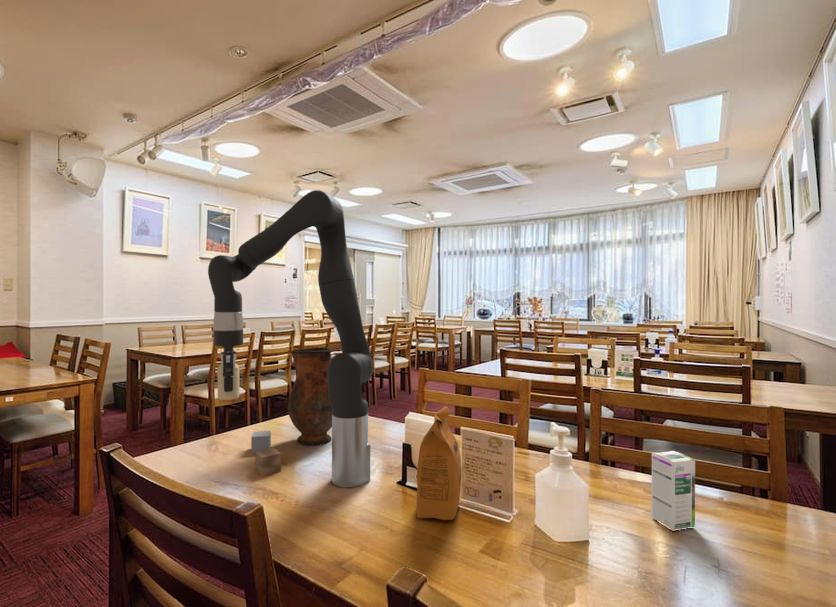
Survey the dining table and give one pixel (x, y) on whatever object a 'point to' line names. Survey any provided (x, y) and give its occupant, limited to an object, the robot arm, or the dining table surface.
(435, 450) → the coffee package
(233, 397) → the candle
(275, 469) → the walnut block
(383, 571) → the dining table surface
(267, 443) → the slate block
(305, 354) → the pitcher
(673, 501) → the syrup box
